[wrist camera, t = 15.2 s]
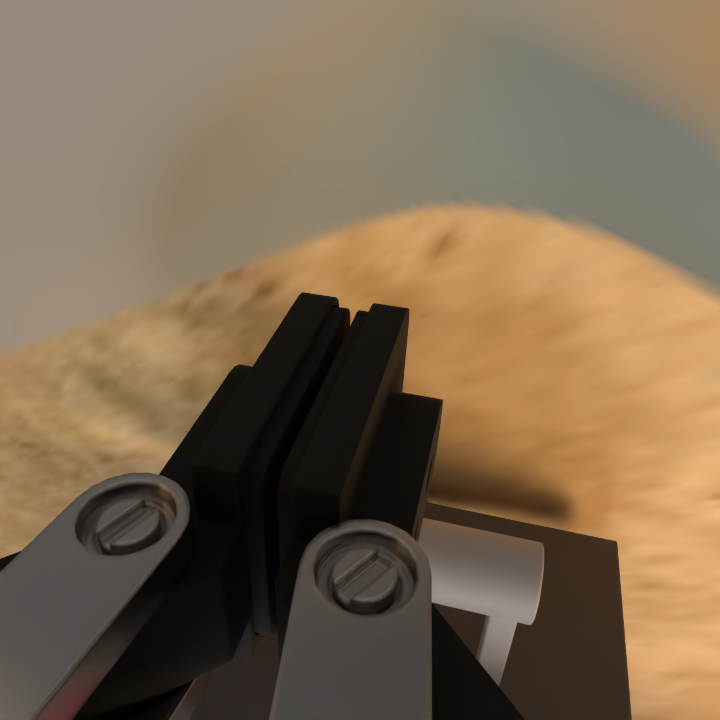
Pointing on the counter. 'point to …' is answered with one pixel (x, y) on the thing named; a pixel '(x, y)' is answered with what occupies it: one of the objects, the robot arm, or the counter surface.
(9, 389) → the counter surface
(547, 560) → the drawer
